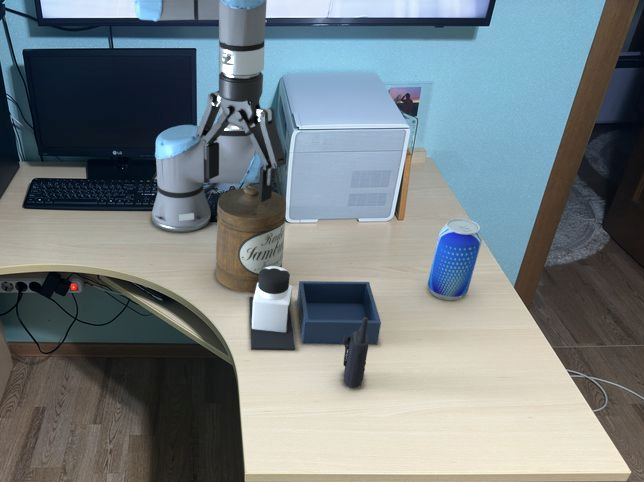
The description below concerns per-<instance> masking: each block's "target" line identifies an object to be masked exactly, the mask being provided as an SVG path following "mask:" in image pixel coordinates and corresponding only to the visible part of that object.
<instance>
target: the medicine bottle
mask: <svg viewBox="0 0 644 482" xmlns="http://www.w3.org/2000/svg"><path fill="white" fill-rule="evenodd" d="M290 275H291V274H290V272H289V271H288V270H287V269H285V268H284V267H283V266H282V267H278V266H269V267H265V268H263V269H262V270H261V271H260V272H259V279H258V283H257V287H256V291H255V292H254V294H253V297H254V299H253V312H252V329H256V330H265V331H275V332H284V333H286V332H287V328H288V322H289V316H290V311H291V305H292V294H293V285H292V284H290Z"/></svg>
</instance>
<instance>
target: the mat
mask: <svg viewBox="0 0 644 482" xmlns="http://www.w3.org/2000/svg"><path fill="white" fill-rule="evenodd" d="M253 299H254V296H249V320H250V321H249V322H250V323H249V324H250V326H249V327H250V349H251V350H252V351H253V350H254V351H255V350H256V351H258V350H260V351H295V350H296V345H295V338H294V337H295V335H294V329H293V320H292V313H291V310H290V316H289V322H288V328H287V332H286V333H284V332H275V331H265V330H256V329H252V312H253Z"/></svg>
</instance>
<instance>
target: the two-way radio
mask: <svg viewBox="0 0 644 482" xmlns="http://www.w3.org/2000/svg"><path fill="white" fill-rule="evenodd" d="M367 322H368V318H367V317H364V318H363V322H362V326H361V327H360V328H359V331H356V332H353V333H352V335H351V336H350V338H349V337H348V336H344V338H343V343H344V344H343V345H344V355H343V363H342V364H343V366H344V371H343V381H344V384H345V385H346V386H348V387H350V388H360V387H361V386H362V383H363V380H364V374H365V371H366V364H367V358H368V357H367V356H368V351H369V346H370V344H369V337H368V334H367V333H366V330H367Z"/></svg>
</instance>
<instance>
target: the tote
mask: <svg viewBox="0 0 644 482" xmlns="http://www.w3.org/2000/svg"><path fill="white" fill-rule="evenodd" d="M297 290H298V291H297V300H296V303H297V312H298V317H299V318H298V319H299V326H300V335H301V341H302V344H305V345H306V344H308V345H310V344H312V345H313V344H314V345H318V344H319V345H344V343H343V338H344V336H348V337H349V338H350V336H351V335H352V333H353V332H356V331H359V328H360V327H361V326H362V322H363V318H364V317H367V318H368V322H367V330H366V333H367V334H368V337H369V345H378V341H379V336H380V332H381V325H382V321H381V318H380V314H379V311H378V308H377V304H376V301H375V298H374V294H373V291H372V287H371V283H370V281H329V280H328V281H327V280H326V281H325V280H323V281H317V280H315V281H314V280H313V281H312V280H299V281H298V287H297Z"/></svg>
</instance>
